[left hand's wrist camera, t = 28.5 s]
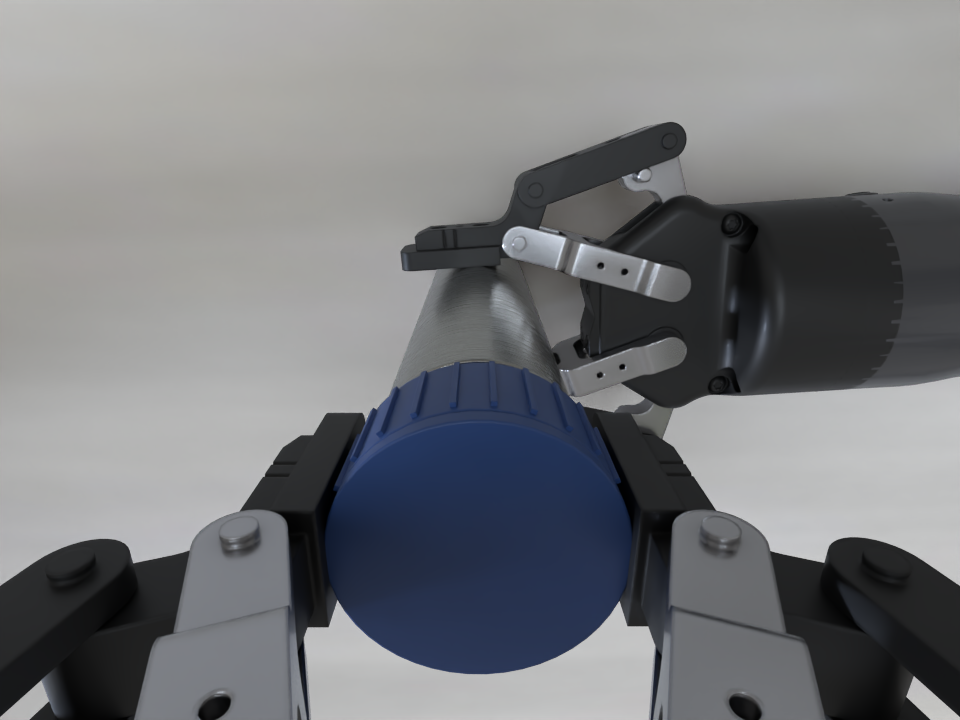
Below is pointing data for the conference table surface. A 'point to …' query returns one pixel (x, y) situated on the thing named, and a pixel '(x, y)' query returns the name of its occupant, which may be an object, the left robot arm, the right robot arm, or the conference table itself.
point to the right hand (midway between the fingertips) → (413, 321)
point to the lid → (478, 522)
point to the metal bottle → (479, 324)
